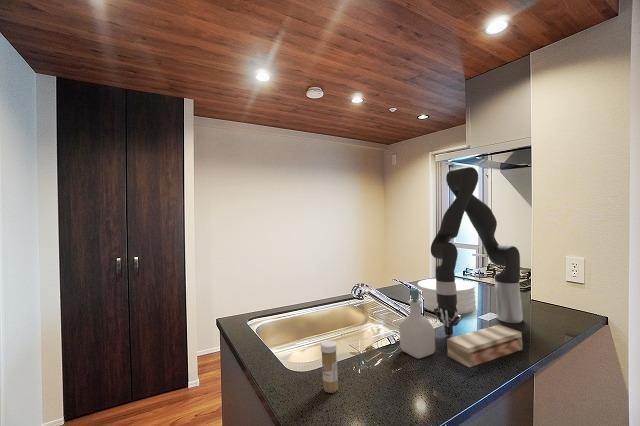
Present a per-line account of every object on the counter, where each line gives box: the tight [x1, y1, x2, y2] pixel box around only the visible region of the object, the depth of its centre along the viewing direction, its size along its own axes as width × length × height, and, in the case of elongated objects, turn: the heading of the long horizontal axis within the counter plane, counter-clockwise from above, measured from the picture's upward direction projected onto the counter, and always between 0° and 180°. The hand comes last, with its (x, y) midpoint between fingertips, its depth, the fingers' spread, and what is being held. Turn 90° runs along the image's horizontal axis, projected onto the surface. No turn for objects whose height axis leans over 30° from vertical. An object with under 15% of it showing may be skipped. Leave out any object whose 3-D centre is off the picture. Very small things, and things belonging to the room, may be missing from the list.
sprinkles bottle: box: [320, 340, 339, 392], centre depth 84 cm, size 5×5×14 cm
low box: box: [446, 324, 524, 368], centre depth 101 cm, size 26×8×6 cm, turn 112°
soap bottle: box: [398, 288, 436, 360], centre depth 104 cm, size 10×10×23 cm
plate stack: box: [417, 278, 477, 315], centre depth 156 cm, size 28×28×12 cm
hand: (448, 335), depth 116 cm, fingers closed
